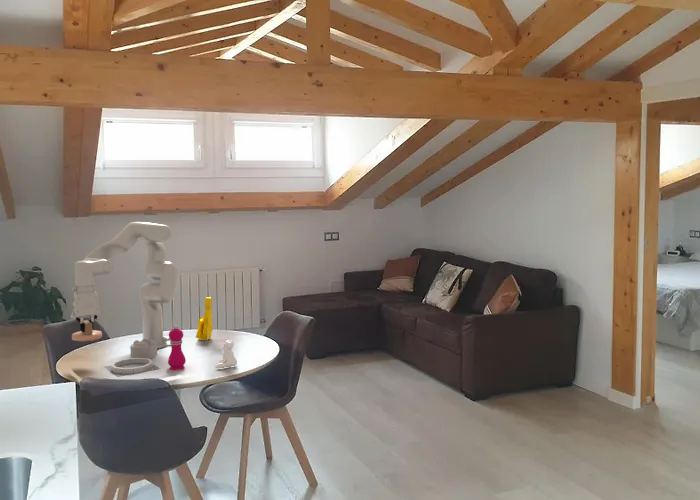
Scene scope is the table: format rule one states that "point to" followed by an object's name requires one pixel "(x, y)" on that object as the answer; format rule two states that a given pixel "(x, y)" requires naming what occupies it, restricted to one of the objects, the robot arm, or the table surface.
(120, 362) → the base plate
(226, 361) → the seated beast figurine
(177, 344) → the pepper mill
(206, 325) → the figure statuette
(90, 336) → the cover
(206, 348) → the table surface
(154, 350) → the lumpy-topped squat cylinder
